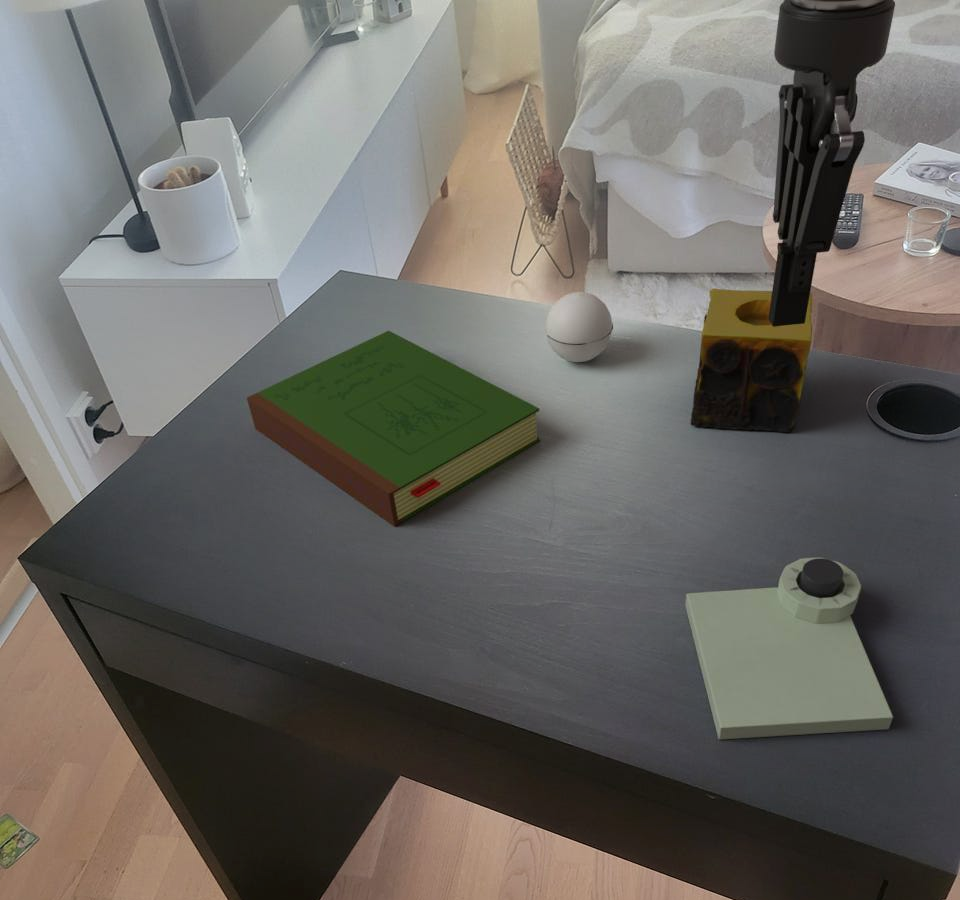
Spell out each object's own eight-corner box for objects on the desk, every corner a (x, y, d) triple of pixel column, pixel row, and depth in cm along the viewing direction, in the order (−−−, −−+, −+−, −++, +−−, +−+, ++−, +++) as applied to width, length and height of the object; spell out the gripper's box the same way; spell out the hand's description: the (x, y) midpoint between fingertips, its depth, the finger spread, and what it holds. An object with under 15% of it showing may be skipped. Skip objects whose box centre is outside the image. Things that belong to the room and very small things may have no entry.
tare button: (833, 571, 75) (837, 556, 74) (844, 597, 73) (848, 582, 72) (795, 574, 75) (798, 559, 74) (805, 600, 73) (808, 585, 72)
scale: (840, 582, 78) (847, 554, 76) (902, 728, 67) (913, 701, 65) (682, 593, 78) (684, 566, 76) (718, 740, 68) (723, 713, 65)
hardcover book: (255, 428, 101) (246, 397, 98) (393, 360, 109) (388, 330, 106) (399, 530, 87) (393, 497, 84) (545, 443, 95) (544, 411, 92)
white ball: (532, 361, 107) (529, 299, 101) (575, 335, 110) (575, 273, 105) (600, 390, 101) (601, 326, 96) (644, 362, 105) (647, 298, 99)
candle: (689, 428, 95) (698, 336, 88) (697, 376, 102) (706, 286, 95) (795, 435, 93) (813, 341, 86) (796, 381, 100) (813, 290, 92)
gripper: (758, -21, 69) (725, 290, 86) (810, 24, 60) (761, 363, 77) (862, -32, 69) (808, 282, 86) (930, 12, 60) (855, 354, 76)
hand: (786, 320), depth 81 cm, fingers closed
